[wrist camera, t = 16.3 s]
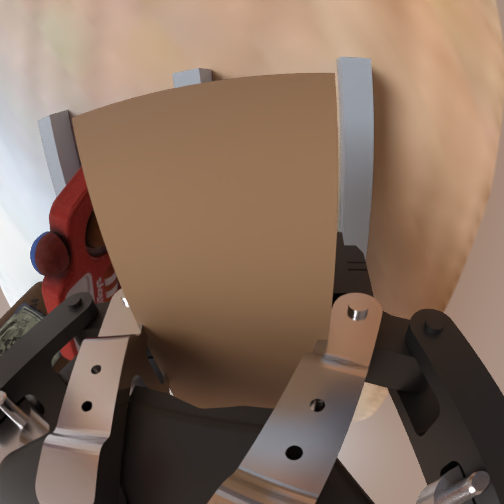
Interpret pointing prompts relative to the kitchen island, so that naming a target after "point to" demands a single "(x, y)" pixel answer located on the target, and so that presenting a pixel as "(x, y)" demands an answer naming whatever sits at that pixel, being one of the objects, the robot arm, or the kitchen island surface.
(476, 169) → the kitchen island surface
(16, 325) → the olive oil
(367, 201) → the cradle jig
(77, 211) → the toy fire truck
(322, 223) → the wing block
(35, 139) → the kitchen island surface
